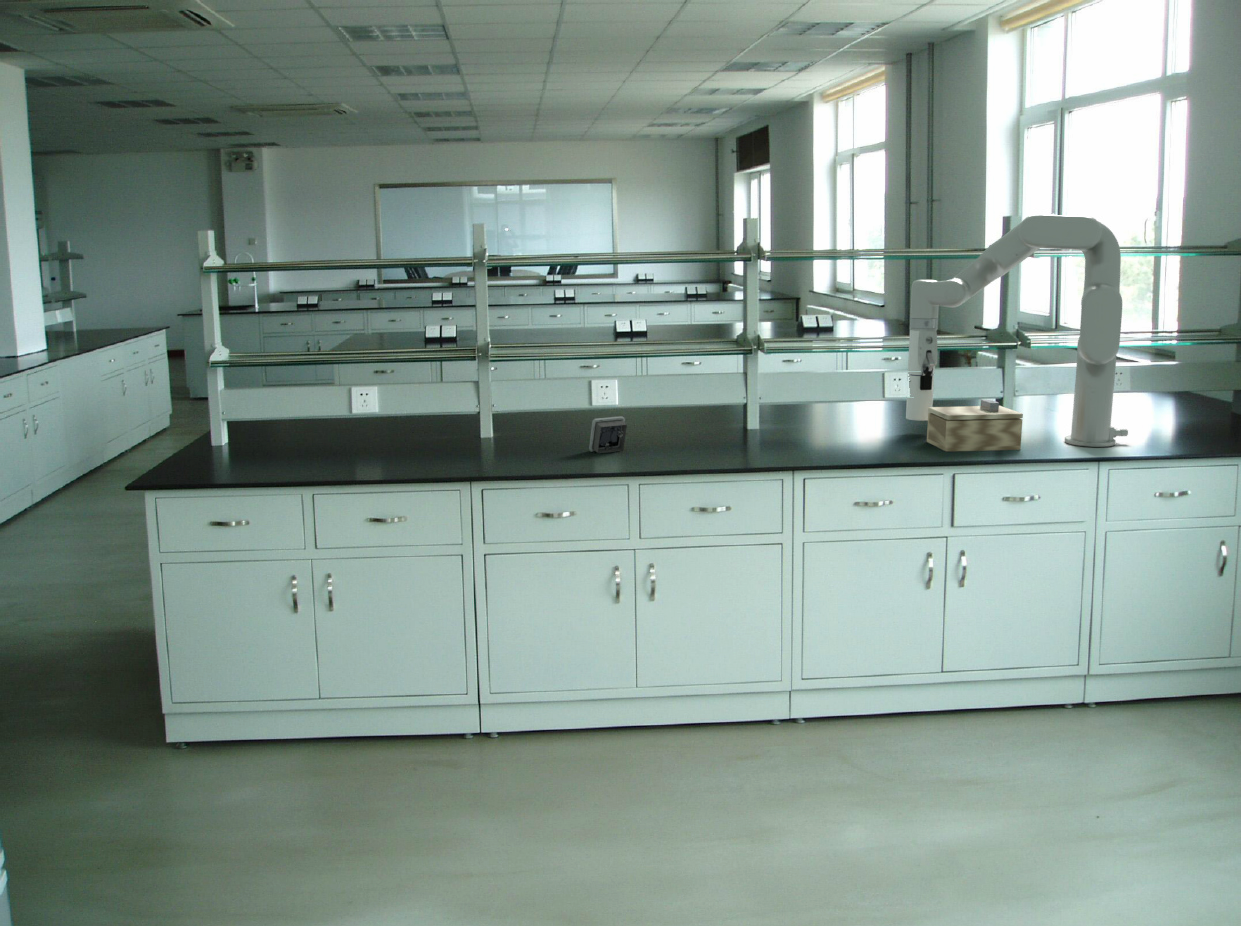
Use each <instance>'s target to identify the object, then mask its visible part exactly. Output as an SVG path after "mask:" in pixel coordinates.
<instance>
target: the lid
mask: <svg viewBox="0 0 1241 926" xmlns="http://www.w3.org/2000/svg"><path fill="white" fill-rule="evenodd" d="M928 412H930V413H933V414H935V415H937V416H940V417H942V418H944V419H947V420H970V419H1013V418H1020V419H1024V418H1023V417H1024V413H1023V412H1019V411H1016V410H1014V409H1010V408H1008V407H1004V406H1002V405H1000V403H999V402H998V401H995V400H993V399H990V398H989V399H988V398H987V399H980V405H977V406H976V405H975V406H974V405H972V406H970V405H969V406H968V405H967V406H933V407H928Z"/></svg>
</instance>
